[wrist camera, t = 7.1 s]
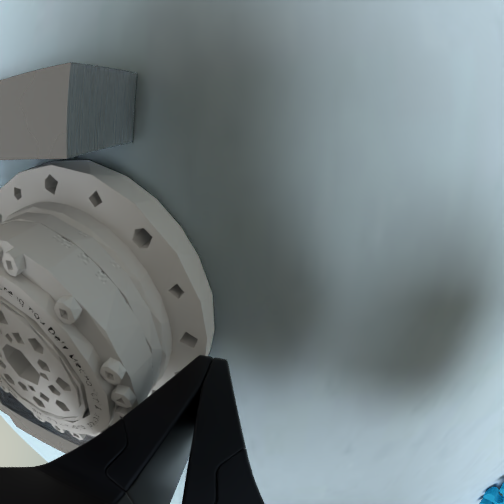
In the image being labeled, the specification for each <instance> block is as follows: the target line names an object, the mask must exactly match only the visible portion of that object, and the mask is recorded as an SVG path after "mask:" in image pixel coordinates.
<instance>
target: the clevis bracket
mask: <svg viewBox="0 0 504 504" xmlns="http://www.w3.org/2000/svg"><path fill="white" fill-rule="evenodd" d="M136 82H137V73H134V72H129V71H123V70H118V69H112V68H106V67H100V66H93V65H86V64H79V63H66V64H61V65H56V66H52V67H47V68H43V69H39V70H35V71H31V72H27V73H24V74H20V75H17V76H13V77H10V78H7V79H3V80H0V160H17V159H68V158H71V157H75V156H79V155H82V154H86V153H90V152H93V151H97V150H101V149H105V148H109V147H113V146H118V145H122V144H126V143H131V142H133V125H134V108H135V94H136ZM0 410H1V411H2V412H4V413H5V414H7V415H9V416H10V418H11V419H12V421H13V422H14V424H15V425H16V426H17V427H18V428H20V429H21V430H23V431H25V432H27V433H28V434H30V435H32V436H33V437H35V438H37V439H39V440H41V441H42V442H44V443H46V444H48V445H50V446H52V447H54V448H56V449H58V450H60V451H62V452H64V453H68V452H70V451H72V450H74V449H75V448H77V447H79V446H81V445H83V444H84V443H86V442H88V441H89V440H91V439H93V438H94V437H96V436H90V435H87V434H86V436H85V438H84V439H83V440H79V439H77V438H75V437H74V436H73V435H72V434H71V433H70V432H69V431H68V430H66V431H65V432H64V433H61V432H60V431H58V430H56V429H55V428H54V427H53V426H52V424H51V423H49V422H47V421H45V422H42V421H40V420H38V419H37V418H36V417H35V416H34V414H33V412H32V411H30V410H29V409H27V408H26V407H25V406H24V405H23V404H22V403H21V402H19V401H18V400H17V399H16V398H15V397H14V396H13V395H12V394H11V393H10V392H9V393H7V392H5V391H4V390H3V389H2V388H1V387H0Z"/></svg>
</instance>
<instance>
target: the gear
mask: <svg viewBox="0 0 504 504" xmlns="http://www.w3.org/2000/svg"><path fill="white" fill-rule="evenodd" d="M499 491H500V493H501V494H502V495H503V496H502V495H500V494H499ZM480 504H504V482H503V484H502V486H501V488H500V490H499V489H498V488H497V487H491V488H489V489H487V490H486V492H485V494H484V496H483V499H482V500H481V502H480Z"/></svg>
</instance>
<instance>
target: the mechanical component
mask: <svg viewBox="0 0 504 504" xmlns="http://www.w3.org/2000/svg"><path fill="white" fill-rule="evenodd" d="M214 331H215V329H214V311H213V294H212V291H211V288H210V286H209V283H208V280H207V277H206V275H205V272H204V269H203V267H202V264H201V261H200V258H199V256H198V254H197V252H196V251H195V249H194V247H193V246H192V244H191V243H190V241H189V239H188V238H187V236H186V234H185V233H184V231H183V229H182V228H181V226H180V225H179V224H178V223H177V221H176V220H175V219H174V218H173V217H172V216H171V215H170V214H169V212H168V211H167V210H166V209H165V208H164V207H163V206H162V204H161V203H160V202H159V201H158V200H157V199H156V198H155V197H154V196H152V195H151V194H150V193H148V192H147V191H146V190H144V189H143V188H142V187H141V186H139V185H138V184H137V183H135V182H134V181H133V180H131V179H130V178H129V177H127V176H125V175H123V174H120V173H118V172H116V171H113V170H111V169H109V168H106V167H104V166H102V165H99V164H97V163H94V162H92V161H90V160H69V161H52V162H49V163H45V164H42V165H39V166H36V167H33V168H30V169H28V170H25V171H22V172H19V173H18V174H17V175H15V176H14V177H13V178H12V179H11V180H10V181H9V182H8V183H6V184H5V185H4V186H3V187H2V188H1V189H0V387H1V388H2V389H3V390H4V391H5V392H7V393H9V392H10V393H11V394H12V395H13V396H14V397H15V398H16V399H17V400H18V401H19V402H21V403H22V404H23V405H24V406H25V407H26V408H27V409H29V410H30V411H32V412H33V414H34V416H35V417H36V418H37V419H38V420H40V421H42V422H45V421H47V422H49V423H51V424H52V426H53V427H54V428H55V429H56V430H58V431H60V432H61V433H64V432H65V431H66V430H68V431H69V432H70V433H71V434H72V435H73V436H74V437H75V438H77V439H79V440H83V439H84V438H85V436H86V434H87V435H90V436H97V435H99V434H101V433H102V432H103V431H105V430H106V429H108V428H109V427H110V426H112V425H113V424H114V423H116V422H117V421H118V420H119V419H121V418H122V419H123V416H125V415H126V414H127V413H129V412H130V411H131V410H132V409H134V408H135V407H136V406H137V405H139V404H140V403H141V402H142V401H144V400H145V399H146V398H147V397H149V396H150V395H151V394H152V393H154V392H155V391H156V390H157V389H159V388H160V387H161V386H162V385H164V384H165V383H166V382H167V381H168V380H170V379H171V378H172V377H173V376H174V375H176V374H177V373H178V372H179V371H181V370H182V369H183V368H184V367H185V366H187V365H188V364H189V363H190V362H191V361H193V360H194V359H195V358H196V357H197V356H199V355H205V356H208V355H209V353H210V349H211V345H212V340H213V336H214Z"/></svg>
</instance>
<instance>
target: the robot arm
mask: <svg viewBox="0 0 504 504" xmlns="http://www.w3.org/2000/svg"><path fill="white" fill-rule="evenodd" d="M245 448H246V447H245V442H244V438H243V433H242V429H241V424H240V419H239V415H238V410H237V405H236V401H235V396H234V391H233V386H232V381H231V376H230V371H229V366H228V361H227V360H225V359H220V358H214V359H213V358H212V357H210V356H205V355H199V356H197V357H196V358H195V359H194V360H193V361H191V362H190V363H189V364H188V365H187V366H185V367H184V368H183V369H182V370H181V371H179V372H178V373H177V374H176V375H174V376H173V377H172V378H171V379H170V380H168V381H167V382H166V383H165V384H164V385H162V386H161V387H160V388H159V389H157V390H156V391H155V392H154V393H152V394H151V395H150V396H149V397H147V398H146V399H145V400H144V401H142V402H141V403H140V404H139V405H137V406H136V407H135V408H134V409H132V410H131V411H130V412H129V413H127V414H126V415H125V416H123V419H122V418H121V419H119V420H118V421H117V422H116V423H114V424H113V425H112V426H110V427H109V428H108V429H106V430H105V431H103V432H102V433H101V434H99V435H97V436H96V437H94V438H93V439H91V440H89V441H88V442H86V443H84V444H83V445H81V446H79V447H77V448H75V449H74V450H72V451H70V452H68V453H66V454H65V455H63V456H61V457H59V458H57V459H55V460H53V461H51V462H49V463H47V464H44V465H40V466H35V467H0V504H170V502H171V499H172V497H173V495H174V492H175V490H176V487H177V485H178V482H179V480H180V477H181V475H182V472H183V470H184V467H185V465H186V463H187V460H188V458H189V462H188V468H187V475H186V481H185V487H184V494H183V500H182V504H264V501H263V499H262V497H261V495H260V492H259V490H258V487H257V485H256V482H255V479H254V477H253V474H252V470H251V467H250V463H249V459H248V455H247V450H246V449H245ZM189 455H190V456H189Z"/></svg>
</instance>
